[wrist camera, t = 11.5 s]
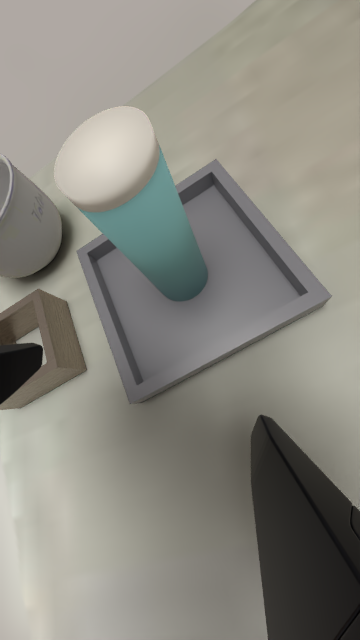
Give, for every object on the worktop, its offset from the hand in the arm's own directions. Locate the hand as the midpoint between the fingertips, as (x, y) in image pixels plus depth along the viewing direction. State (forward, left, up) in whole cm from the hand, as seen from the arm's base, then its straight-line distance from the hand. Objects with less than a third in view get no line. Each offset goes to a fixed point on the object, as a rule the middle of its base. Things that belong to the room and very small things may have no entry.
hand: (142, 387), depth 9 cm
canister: (+9, -3, -9) cm, 13 cm away
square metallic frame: (+10, +13, -10) cm, 19 cm away
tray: (+9, -3, -10) cm, 14 cm away
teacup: (+24, +11, -10) cm, 29 cm away
